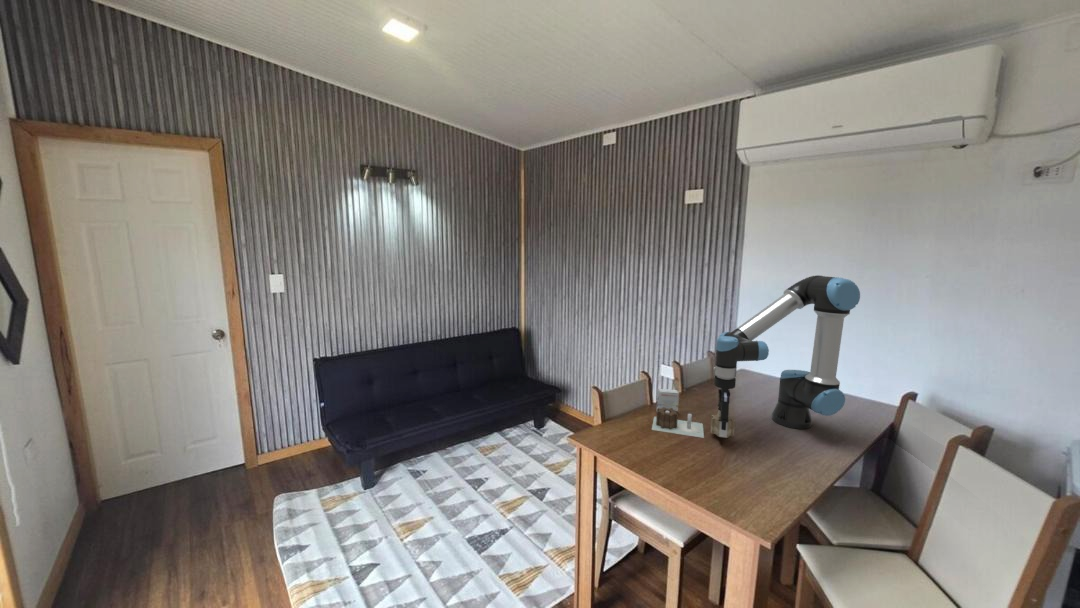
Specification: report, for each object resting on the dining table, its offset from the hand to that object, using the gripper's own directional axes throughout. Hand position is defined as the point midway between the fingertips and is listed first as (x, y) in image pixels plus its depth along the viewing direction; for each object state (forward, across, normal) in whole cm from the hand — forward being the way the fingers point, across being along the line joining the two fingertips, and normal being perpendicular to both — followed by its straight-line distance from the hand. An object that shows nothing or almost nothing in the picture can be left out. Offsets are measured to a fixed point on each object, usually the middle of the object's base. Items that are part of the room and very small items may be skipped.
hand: (721, 431), depth 166 cm
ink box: (+3, -16, -22) cm, 27 cm away
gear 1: (+2, -4, -21) cm, 21 cm away
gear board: (+3, -4, -17) cm, 17 cm away
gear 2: (0, 0, 0) cm, 0 cm away
